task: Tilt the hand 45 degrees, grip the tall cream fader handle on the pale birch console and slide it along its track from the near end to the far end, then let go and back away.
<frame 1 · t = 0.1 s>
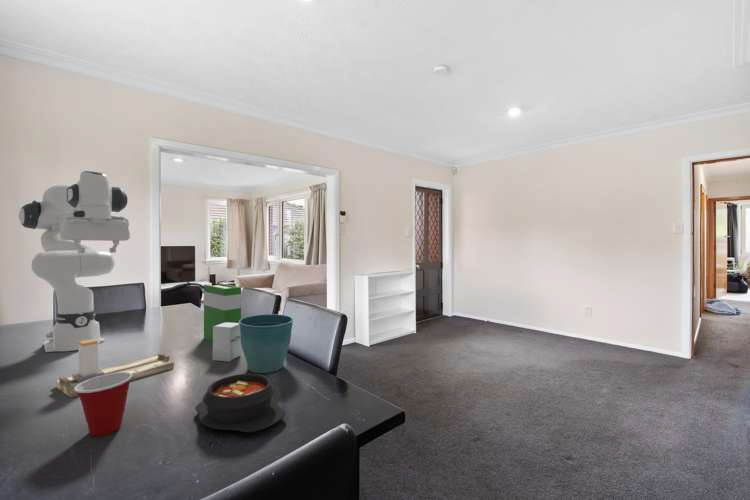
hand: (97, 252, 129), 39 cm above the table, tool pointing down, fingers open, 8 cm apart
casserole: (239, 417, 89), on the table
supplement box: (227, 358, 133), on the table
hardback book: (222, 340, 155), on the table
plastic cup: (104, 430, 82), on the table
flower pot: (266, 368, 123), on the table
fader handle: (88, 359, 106), point 8 cm above the table, slide at -8.0 cm
fader console: (119, 376, 113), on the table
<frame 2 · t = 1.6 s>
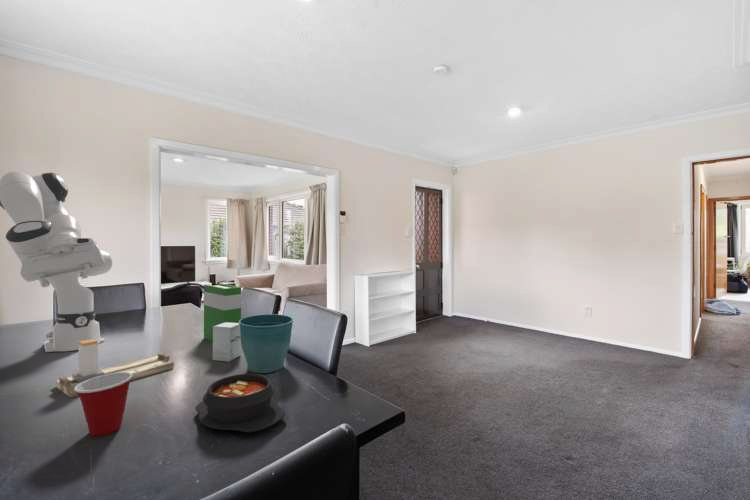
hand: (64, 281, 108), 31 cm above the table, tool tilted 50°, fingers open, 8 cm apart
nothing on the table moved.
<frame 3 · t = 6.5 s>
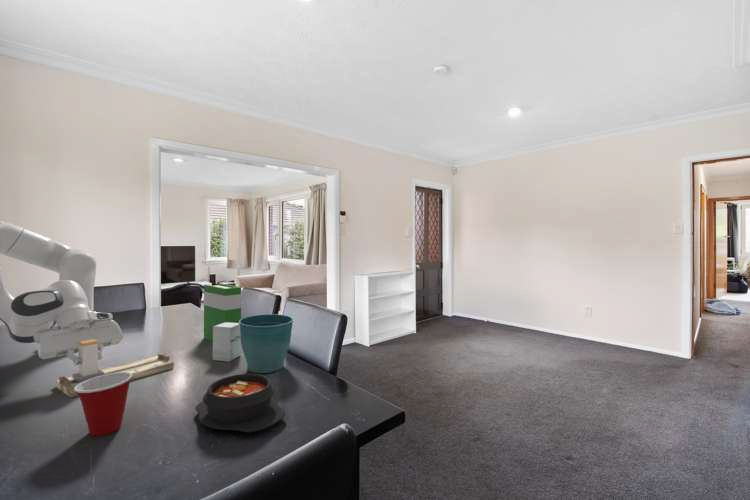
hand: (89, 361, 106), 7 cm above the table, tool tilted 45°, fingers closed on fader handle, 4 cm apart
fader handle: (88, 359, 106), point 8 cm above the table, slide at -8.0 cm, touching gripper
everything else where it was.
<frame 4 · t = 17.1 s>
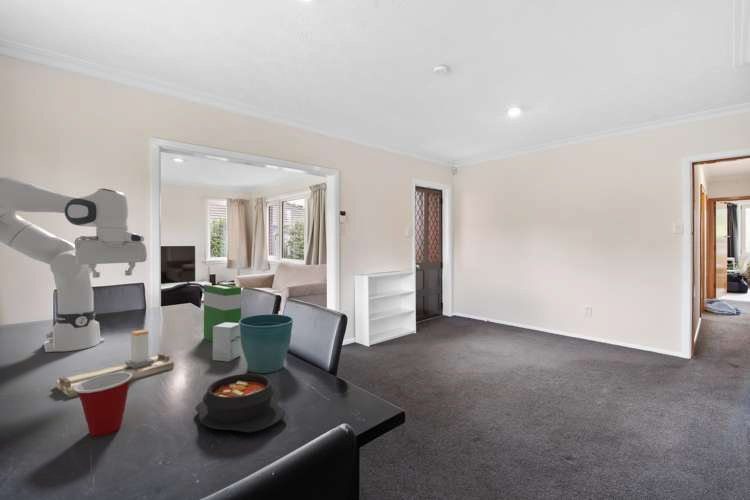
hand: (112, 276, 122), 31 cm above the table, tool pointing down, fingers open, 8 cm apart
fader handle: (139, 347, 118), point 8 cm above the table, slide at 6.0 cm
everything else where it was.
at the end: fader handle slide at 6.0 cm; the gripper is holding nothing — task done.
